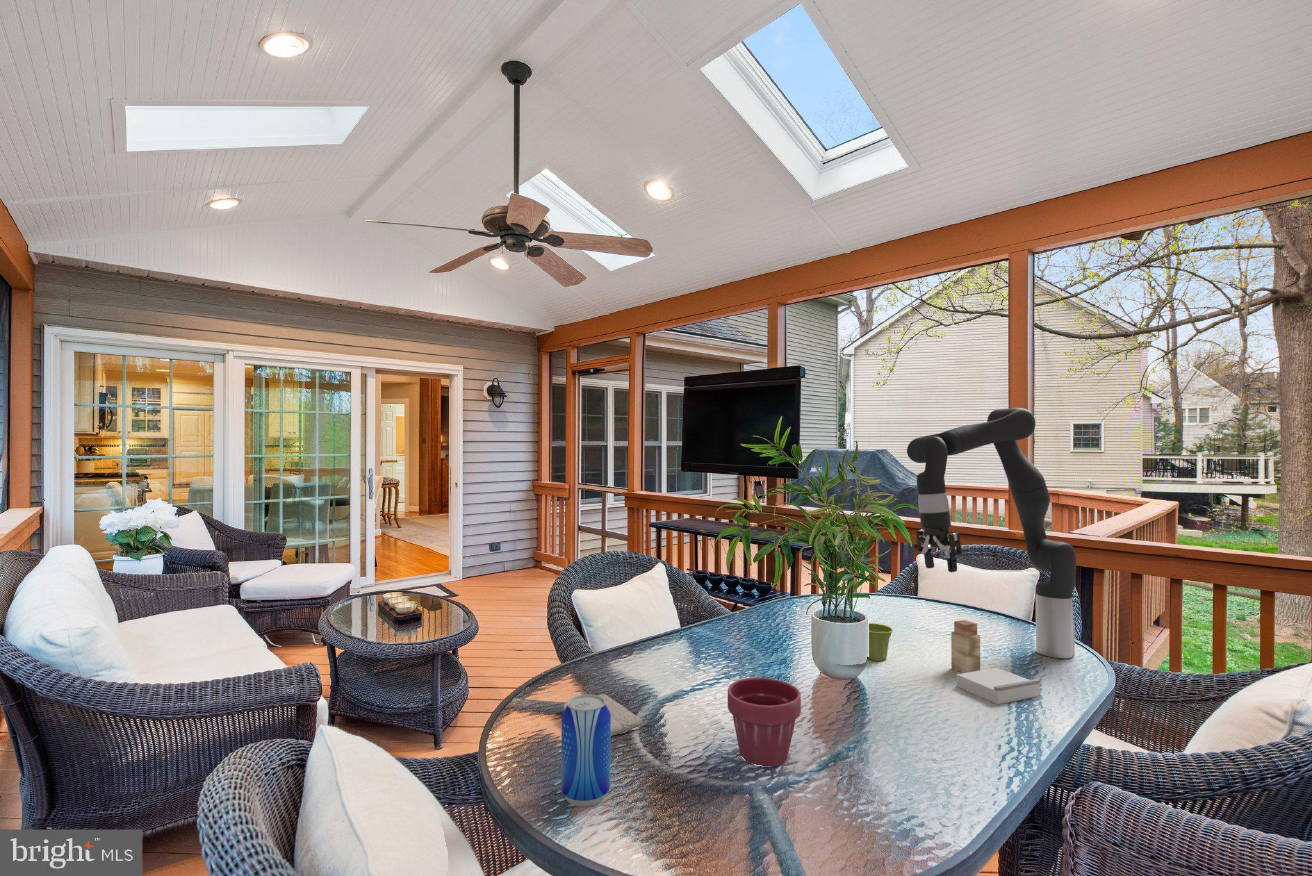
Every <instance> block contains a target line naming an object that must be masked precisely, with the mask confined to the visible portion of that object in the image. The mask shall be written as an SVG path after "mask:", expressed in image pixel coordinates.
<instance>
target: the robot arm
mask: <svg viewBox="0 0 1312 876" xmlns="http://www.w3.org/2000/svg"><path fill="white" fill-rule="evenodd" d="M1035 428H1036V418H1035V416H1034V414H1033V413H1032V412H1031V411H1030V410H1028V409H1026V408H1022V407H1013V408H1011V407H1010V408H997V409H994V410H992V411H991V412H990V413H989V414H988V416H987V421H986V422H980V423H972V424H967V425H963V426H962V425H961V426H958V427H954V428H952V429H947V430H945V431H943V432H940V433H935V434H929V435H924V436H919V437H916V438H914V439H912V440H910V442H909V443H908V445H907V447H906V454H907V457H908V458H909V459H910V461H912V462H915V463H917V464H925V466H924V471H922V472H920V473H918V474H917V475H916V488H917V494H918V495H917V496H918V499H917V502H918V503H917V504H918V505H917V506H918V512H919V521H920V526H921V528H922V529H919V530H916V531H915V536H916V544H917V545H916V546H917V547H916V548H917V549H916V550H917V551H918V552H921V553H922V554H923V557H924V564H925V565H924V566H925V568H926V569H933V568H935V563H934V562H935V561H934V554H933V551H934V549H940V551H941V552H943V553H944V554H945V556H946V563H947V571H948V572H949V573H955V572H957V571H958V561H957V557H959V556H962V555H963V550H962V544H961V543H962V542H961V539H960V537H961V536H960V533H959V532H950V530H949V528H950V527H951V526H952V521H951V513H950V505H949V499H948V495H947V490H946V489H947V487H946V482H945V474H946V469H947V462H948V456H955V455H956V456H957V455H958V454H962V453H965V452H968V451H971V450H974V449H979V448H981V447H984V446H988V445H991V444H993V446H994V448H995V450H996V452H997V455H998V457H999V458H1000V462H1001V465H1002V468H1003V470H1004V474H1005V476H1006V479H1007V482H1008V485H1009V486H1008V487H1009V488H1010V489H1009V490H1010V492H1011V496H1012V499H1013V501H1014V504H1015V507H1016V510H1017V513H1018V516H1019V519H1020V523H1021V524H1020V525H1021V528H1022V532H1023V537H1024V541H1025V547H1026V551H1027V556H1028V559H1029V561H1030V563H1031V565H1032V566H1033V567H1034V568H1036V569H1037V570H1041V571H1046V572H1050V574H1049V575H1050V576H1049V579H1048V580H1047V581H1043V582H1038V583H1037V584H1035V651H1036V653H1038V654H1040V655H1042V656H1045V657H1050V658H1056V659H1071V658H1073V656H1075V655H1076V653H1075V652H1076V651H1075V648H1076V646H1075V642H1076V641H1075V638H1076V635H1075V632H1076V631H1075V622H1074V621H1073V620H1074V619H1073V617H1074V616H1073V608H1074V607H1073V591H1074V590H1075V587H1076V586H1075V585H1076V574H1077V573H1076V570H1077V555H1076V551H1075V548H1074V547H1073V545H1071V544H1069V543H1068V542H1063V541H1058V540H1057V541H1056V540H1052V539H1049V538H1048V536H1047V533H1046V529H1045V525H1044V524H1045V523H1044V522H1045V517H1046V514H1047V512H1048V510H1049V506H1050V502H1051V499H1050V498H1051V497H1050V492H1049V489H1048V486H1047V483H1046V480H1045V478H1044V475H1043V474H1042V473H1041V471H1040V470H1039V469H1038V468H1037V467H1036V466H1035V465H1034V464H1033V463H1032V462H1031V461H1030V460H1029V459H1028V457H1026V455H1025V454H1024V453H1023V452H1022V450H1021V448H1020V446H1019V444H1018V441H1019V440H1020V441H1021V440H1025V439H1027V438H1029V437H1030V436H1031V435H1032V434H1033V433H1034V432H1035Z"/></svg>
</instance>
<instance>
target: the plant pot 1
mask: <svg viewBox="0 0 1312 876" xmlns="http://www.w3.org/2000/svg"><path fill="white" fill-rule="evenodd" d="M801 698H802V695H801V692H800V690H799V689H798V688H797V687H796V686H795V685H792V684H791V683H789V682H786V681H782V680H779V679H775V678H768V677H748V678H747V677H746V678H742V679H741V678H740V679H738V680H736V681H734V682H732V683H731V684H730V685H729V686H728V687H727V710H728V712H729V713H730V714H731V715H732V721H733V725H734V730H735V735H736V739H737V740H736V741H737V745H738V749H739V754H740V755H739V756H740V757H741V756H742V757H743V758H744V759H745V760H746V761H748V762H750V763H753V764H756V765H762V766H776V767H778V766H777V765H779V766H781V764H782V765H783V764H785V763H786V762H787V759H788V756H789V751H790V747H791V743H792V739H793V735H794V731H795V725H796V720H797V719H798V718H799V717H800V715H801V713H802V712H801V711H802V710H801V709H802V699H801ZM742 757H741V758H742ZM746 761H745V762H746ZM785 761H786V762H785ZM784 762H785V763H784Z"/></svg>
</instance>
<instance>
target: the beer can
mask: <svg viewBox="0 0 1312 876" xmlns="http://www.w3.org/2000/svg"><path fill="white" fill-rule="evenodd" d="M597 695H598V694H597ZM597 695H596V694H579V695H575V696H573V697H571V698H569V699H568V700H567V702H566V703H567V707H566V709H565V710H564V712H562V714H561V745H560V746H561V751H560V752H561V756H560V757H561V758H560V759H561V762H560V763H561V765H560V766H561V767H560V773H561V774H560V779H561V780H560V791H561V793H562V795H563V796H564V798H565V800H566V801H567V802H568V803H569V804H571V805H573V806H575V807H576V806H577V807H591V806H596V805H598V804H600V803H601V802H603V801H604V800H605V798H606V796H607V794H608V793H609V792H610V789H611V742H612V741H611V738H612V737H611V714H610V711H609V710H608V708H607V706H606V705H605V699H604V698H602V697H600V696H597Z"/></svg>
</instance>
